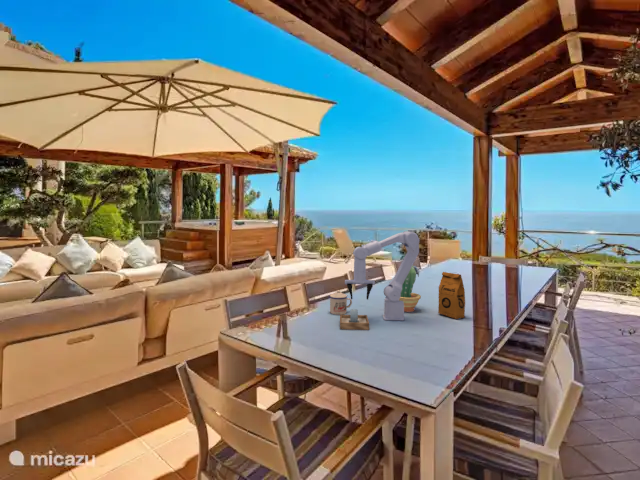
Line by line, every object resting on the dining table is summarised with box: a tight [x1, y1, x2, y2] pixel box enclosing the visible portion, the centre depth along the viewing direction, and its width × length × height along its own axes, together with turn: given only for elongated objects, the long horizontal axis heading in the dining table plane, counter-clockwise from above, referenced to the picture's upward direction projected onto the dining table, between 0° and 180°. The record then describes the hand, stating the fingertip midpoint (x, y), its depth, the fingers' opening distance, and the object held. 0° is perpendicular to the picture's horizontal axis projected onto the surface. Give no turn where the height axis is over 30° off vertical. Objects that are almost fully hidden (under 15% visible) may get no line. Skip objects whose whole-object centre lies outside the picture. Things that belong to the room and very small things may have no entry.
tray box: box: [339, 314, 370, 331], centre depth 171 cm, size 13×13×3 cm
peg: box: [349, 308, 359, 323], centre depth 171 cm, size 3×3×7 cm
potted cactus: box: [399, 264, 422, 313], centre depth 198 cm, size 15×15×25 cm
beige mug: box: [329, 290, 353, 316], centre depth 193 cm, size 12×9×12 cm
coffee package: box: [437, 271, 466, 320], centre depth 186 cm, size 10×12×22 cm
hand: (359, 299), depth 181 cm, fingers open, 7 cm apart
